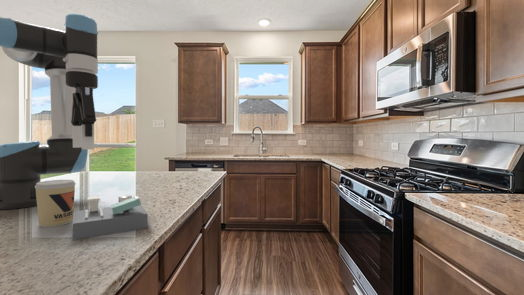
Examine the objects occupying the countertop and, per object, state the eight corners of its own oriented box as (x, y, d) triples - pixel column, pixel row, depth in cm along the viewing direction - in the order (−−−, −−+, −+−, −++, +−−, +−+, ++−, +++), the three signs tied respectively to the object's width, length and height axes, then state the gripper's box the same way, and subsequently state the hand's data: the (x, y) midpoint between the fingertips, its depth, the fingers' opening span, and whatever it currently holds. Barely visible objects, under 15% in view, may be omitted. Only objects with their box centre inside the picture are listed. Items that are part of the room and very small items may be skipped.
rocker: (112, 211, 74) (110, 204, 74) (139, 201, 78) (137, 195, 77) (113, 214, 71) (111, 207, 70) (141, 204, 74) (139, 197, 74)
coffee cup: (54, 229, 72) (53, 185, 72) (26, 226, 74) (25, 183, 74) (83, 219, 82) (83, 180, 81) (58, 217, 83) (57, 178, 83)
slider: (88, 209, 76) (87, 197, 76) (99, 208, 78) (99, 196, 78) (88, 212, 74) (87, 199, 73) (99, 211, 75) (99, 198, 75)
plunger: (118, 206, 80) (118, 196, 80) (131, 204, 82) (131, 195, 82) (119, 208, 77) (119, 198, 77) (132, 207, 79) (132, 197, 79)
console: (75, 225, 76) (75, 208, 76) (140, 216, 85) (140, 201, 85) (72, 239, 65) (72, 220, 65) (147, 227, 74) (147, 210, 74)
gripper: (59, 77, 82) (60, 147, 82) (73, 61, 63) (74, 150, 64) (88, 81, 87) (88, 146, 87) (108, 67, 69) (109, 149, 69)
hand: (82, 148), depth 76 cm, fingers open, 13 cm apart
